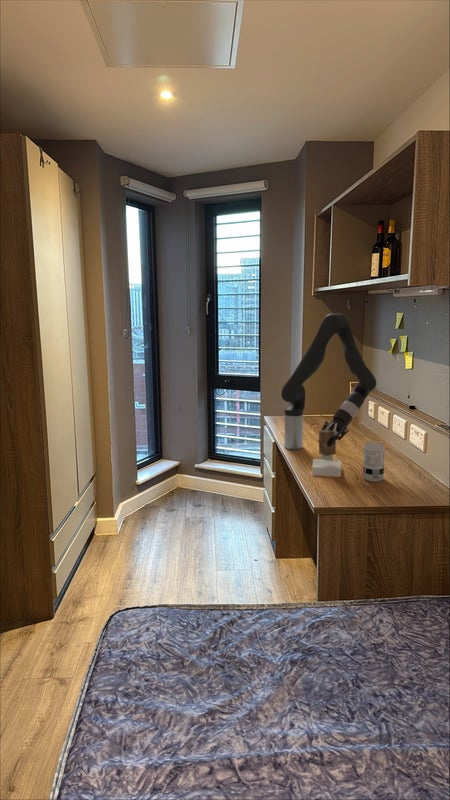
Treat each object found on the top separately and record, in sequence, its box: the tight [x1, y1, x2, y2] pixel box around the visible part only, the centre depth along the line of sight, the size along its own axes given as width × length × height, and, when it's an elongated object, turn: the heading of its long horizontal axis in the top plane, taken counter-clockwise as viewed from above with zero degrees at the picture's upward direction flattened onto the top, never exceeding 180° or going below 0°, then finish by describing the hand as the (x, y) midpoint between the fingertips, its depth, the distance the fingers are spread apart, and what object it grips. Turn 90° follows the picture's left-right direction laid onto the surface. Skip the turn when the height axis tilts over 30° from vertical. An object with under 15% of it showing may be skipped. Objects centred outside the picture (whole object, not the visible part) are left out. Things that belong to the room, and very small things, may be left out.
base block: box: [311, 458, 342, 478], centre depth 219 cm, size 12×12×4 cm
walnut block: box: [318, 429, 337, 456], centre depth 217 cm, size 5×5×10 cm
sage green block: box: [320, 454, 334, 460], centre depth 231 cm, size 5×5×10 cm
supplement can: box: [362, 441, 386, 483], centre depth 207 cm, size 8×8×15 cm
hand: (324, 443), depth 216 cm, fingers closed on walnut block, 5 cm apart
